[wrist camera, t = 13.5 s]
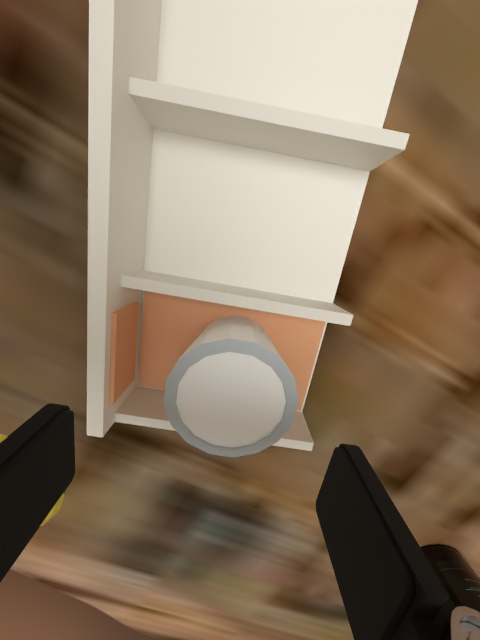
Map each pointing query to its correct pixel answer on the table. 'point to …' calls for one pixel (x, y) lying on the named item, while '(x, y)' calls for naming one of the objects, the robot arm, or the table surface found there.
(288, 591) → the table surface
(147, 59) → the rack
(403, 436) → the table surface
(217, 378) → the white and grey cylinder
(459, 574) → the supplement bottle
